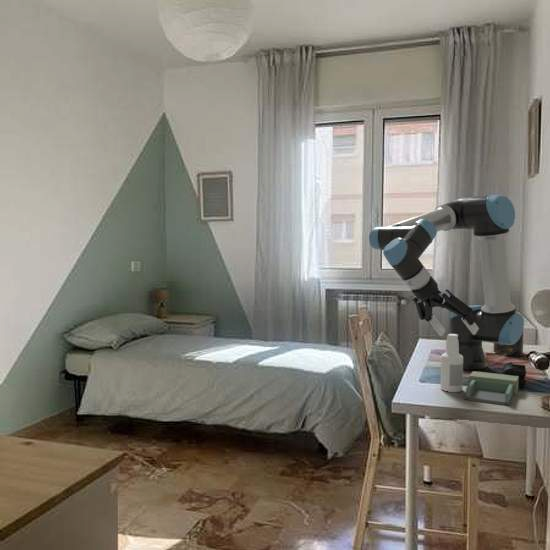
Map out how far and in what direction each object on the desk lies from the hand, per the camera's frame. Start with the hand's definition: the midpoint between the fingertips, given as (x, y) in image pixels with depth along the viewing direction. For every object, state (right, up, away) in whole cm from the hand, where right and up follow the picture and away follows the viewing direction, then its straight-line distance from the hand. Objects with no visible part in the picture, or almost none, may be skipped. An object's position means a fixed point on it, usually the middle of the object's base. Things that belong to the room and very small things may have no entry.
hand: (459, 332), depth 172 cm
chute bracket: (+10, -19, -1) cm, 22 cm away
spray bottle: (-1, -19, +5) cm, 20 cm away
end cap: (+22, -19, +11) cm, 31 cm away
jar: (+42, -15, +62) cm, 77 cm away
